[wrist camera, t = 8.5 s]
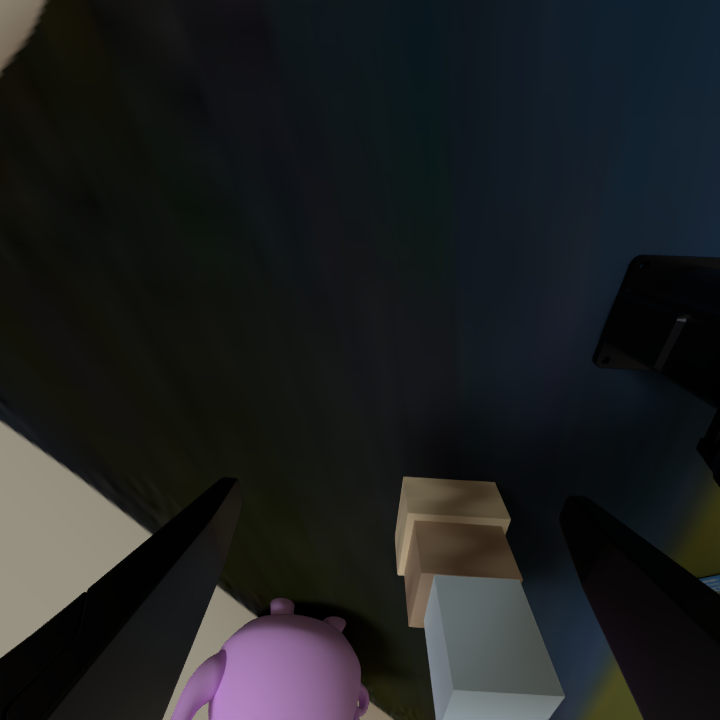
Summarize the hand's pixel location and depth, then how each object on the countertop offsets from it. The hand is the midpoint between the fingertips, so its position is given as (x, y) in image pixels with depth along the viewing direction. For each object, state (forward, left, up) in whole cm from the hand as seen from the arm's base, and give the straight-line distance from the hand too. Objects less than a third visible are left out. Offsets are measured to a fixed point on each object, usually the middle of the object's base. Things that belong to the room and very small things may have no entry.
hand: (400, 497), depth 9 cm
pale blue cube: (-6, +15, -5) cm, 17 cm away
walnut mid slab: (-6, +15, -9) cm, 19 cm away
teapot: (+8, +34, -12) cm, 37 cm away
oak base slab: (-6, +15, -12) cm, 20 cm away
